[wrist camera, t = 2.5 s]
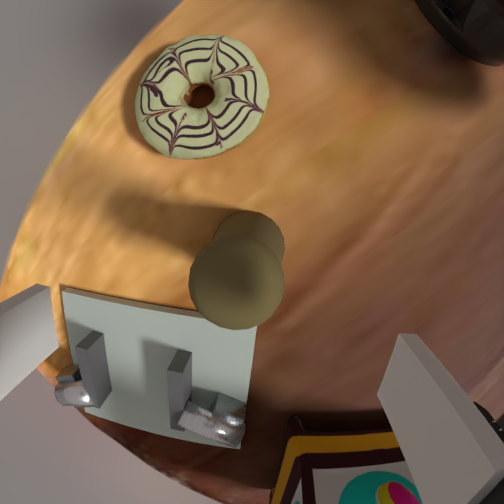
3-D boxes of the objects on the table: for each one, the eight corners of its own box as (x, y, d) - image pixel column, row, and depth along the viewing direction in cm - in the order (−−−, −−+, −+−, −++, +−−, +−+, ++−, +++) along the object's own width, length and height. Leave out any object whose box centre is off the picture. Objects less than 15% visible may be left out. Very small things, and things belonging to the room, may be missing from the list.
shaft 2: (182, 407, 29) (172, 434, 25) (196, 381, 28) (186, 408, 24) (233, 428, 29) (228, 456, 25) (251, 404, 28) (248, 433, 24)
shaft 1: (93, 361, 28) (75, 382, 24) (112, 393, 29) (97, 415, 25) (65, 366, 29) (47, 384, 25) (83, 395, 30) (67, 415, 26)
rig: (68, 287, 28) (41, 303, 23) (257, 319, 27) (254, 346, 22) (89, 406, 32) (73, 428, 27) (241, 442, 31) (237, 471, 26)
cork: (198, 252, 26) (152, 300, 15) (241, 195, 25) (219, 207, 14) (254, 294, 27) (244, 366, 16) (299, 241, 25) (320, 285, 15)
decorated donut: (130, 84, 23) (111, 73, 19) (237, 30, 21) (232, 10, 18) (173, 182, 25) (157, 182, 21) (289, 127, 23) (292, 117, 20)
